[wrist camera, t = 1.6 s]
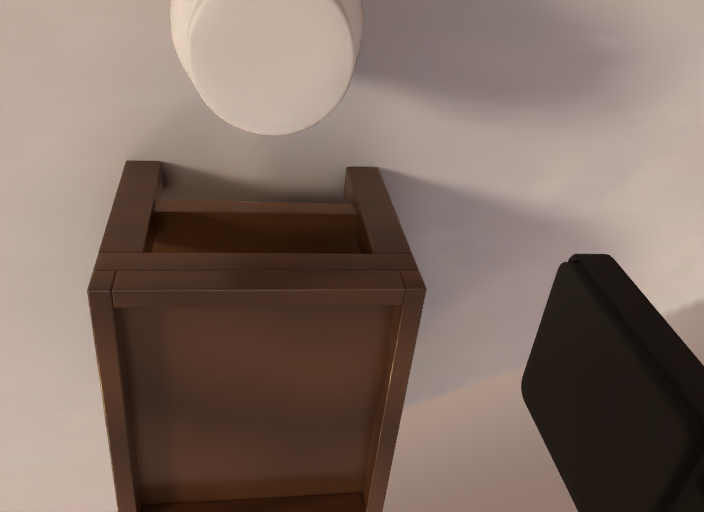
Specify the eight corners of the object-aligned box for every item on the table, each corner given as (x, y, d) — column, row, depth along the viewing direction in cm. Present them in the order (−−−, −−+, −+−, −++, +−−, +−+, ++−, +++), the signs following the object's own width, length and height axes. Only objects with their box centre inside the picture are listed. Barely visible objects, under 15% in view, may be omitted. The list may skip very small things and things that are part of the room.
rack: (125, 160, 31) (86, 290, 23) (378, 167, 33) (426, 288, 25) (145, 381, 39) (121, 539, 30) (350, 375, 41) (380, 522, 33)
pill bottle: (361, -56, 28) (425, 14, 18) (291, 73, 30) (316, 191, 21) (225, -143, 25) (219, -113, 16) (161, 5, 28) (125, 104, 19)
